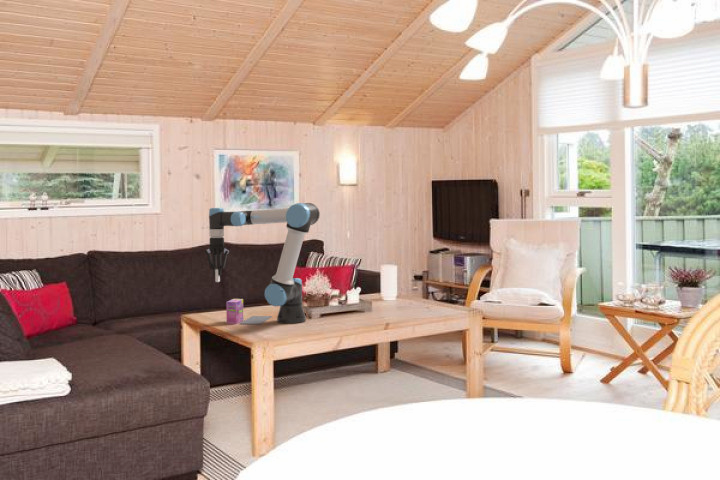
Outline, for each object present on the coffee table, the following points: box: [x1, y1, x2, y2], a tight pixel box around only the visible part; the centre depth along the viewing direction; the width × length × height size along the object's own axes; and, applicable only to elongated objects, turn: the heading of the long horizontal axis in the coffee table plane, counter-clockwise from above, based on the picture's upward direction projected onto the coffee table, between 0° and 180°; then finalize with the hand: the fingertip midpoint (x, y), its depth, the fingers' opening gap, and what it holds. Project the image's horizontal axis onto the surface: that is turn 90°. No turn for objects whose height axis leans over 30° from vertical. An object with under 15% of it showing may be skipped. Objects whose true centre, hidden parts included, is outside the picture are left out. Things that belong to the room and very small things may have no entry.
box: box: [225, 298, 244, 325], centre depth 388 cm, size 10×6×12 cm, turn 168°
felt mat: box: [238, 315, 273, 325], centre depth 393 cm, size 11×24×1 cm, turn 171°
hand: (217, 281), depth 388 cm, fingers closed
